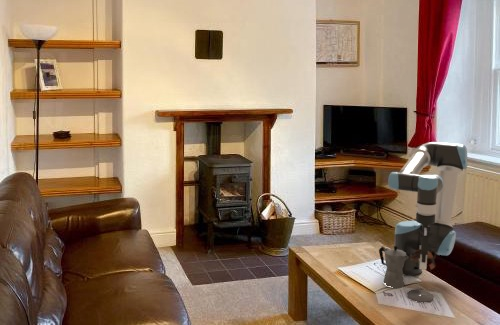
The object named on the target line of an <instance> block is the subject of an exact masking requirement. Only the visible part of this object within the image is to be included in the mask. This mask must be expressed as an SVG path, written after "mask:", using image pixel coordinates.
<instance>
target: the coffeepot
mask: <svg viewBox="0 0 500 325" xmlns="http://www.w3.org/2000/svg"><path fill="white" fill-rule="evenodd" d="M378 253H379V257H380V261H381V265H383V266H385V267H386V270H385V274H384V278H383V282H384V283H386V285H387V286H391V287H393V288H392V289H401V288H403V287H404V285H405V280H404V278H405V276H404V275H403V271H402V268H403V266H404V262H405V260H406V259H408V256H407V255H406V252H404V251H402V250H398V249H397V246H394V245H393V248H388V247H384V246H381V247H380V248H379V249H378ZM387 286H386V287H387Z"/></svg>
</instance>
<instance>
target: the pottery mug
mask: <svg viewBox="0 0 500 325" xmlns="http://www.w3.org/2000/svg"><path fill="white" fill-rule="evenodd" d="M423 252H424V251H423ZM414 253H415V254H414V255H413V253H412V254H411V255H410V257H411V262H416V263H417V260H418V258H419V259H420V254H419V253H421V249H419V250H417V251H415V252H414ZM436 256H437V254H436V252H435V250H433V249H430V250H428V255H427V262H430V263H429V264H428V266H429V269H430V271H431V270H432V271H433V269H435V268H436V262H435V259H436Z"/></svg>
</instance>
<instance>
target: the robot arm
mask: <svg viewBox="0 0 500 325" xmlns="http://www.w3.org/2000/svg"><path fill="white" fill-rule="evenodd" d="M427 166H433V167H436V170H437V171H438V174H439V175H438V174H420V173H421V171H423V168H426V167H427ZM467 168H468V150H467V147H466V145H464V144H462V143H457V142H456V143H454V142H453V143H452V142H451V143H450V142H439V141H437V142H436V141H431V142H426V143H423V144H421V145H419V146H417V147H416V148H414V149H413V150H412V151H411V153H410V155H409V159H408V160H407V161H406V162H405V164H404V165H403V166H402V168H401V169H400V171H399V172H398V171H392V172H390V174H389V175H388V179H387V180H388V183H387V184H388V188H390V189H391V190H395V191H403V192H404V191H405V192H412V193H414V192H415V193H417V194H416V195H417V196H416V204H415V205H414V207H416V213H415V220H404V221H400V222H398V223H396V224H395V230H394V245H393V247H394V246H397V249H398V250H402V251H404V252H406V255H407V256H408V259H406V260H405V262H404V266H403V268H402V271H403V274H405V276H416V275H419V274H421V273H423V271H424V270H425V271H426V270H427V267H428V265H427V264H428V257H427V255H428V250H430V249H433V250H435V252H436V255H437V256H440V255H441V256H449V255H450V254H451V253H452V252H453V250H454V246H455V243H456V238H457V232H456V231H455V230H454V226H453V225H452V223H451V222H452V218H453V211H454V210H453V209H454V204H455V198H456V194H457V193H456V192H457V187H458V180H459V176H460V175H462V174H463V171H464V170H466V169H467ZM419 249H421V253H419V254H420V259H419V258H418V260H417V263H416V262H411V257H410V255H411V254H412V253H413V255H414V254H415V253H414V252H415V251H417V250H419ZM423 251H424V252H423Z"/></svg>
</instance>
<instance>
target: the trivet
mask: <svg viewBox="0 0 500 325" xmlns="http://www.w3.org/2000/svg"><path fill="white" fill-rule="evenodd" d="M406 297H407V299H409V300H410V299H411V301H413V302H415V301H417V302H416V303H421V302H423V303H424V302H428V303H431V301H432V302H433V301H434V300H435V294H433V293H432V292H430V291H429V290H428V291H427V290H425V289H417V288H415V289H410V290H407V292H406ZM424 304H425V303H424Z"/></svg>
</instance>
